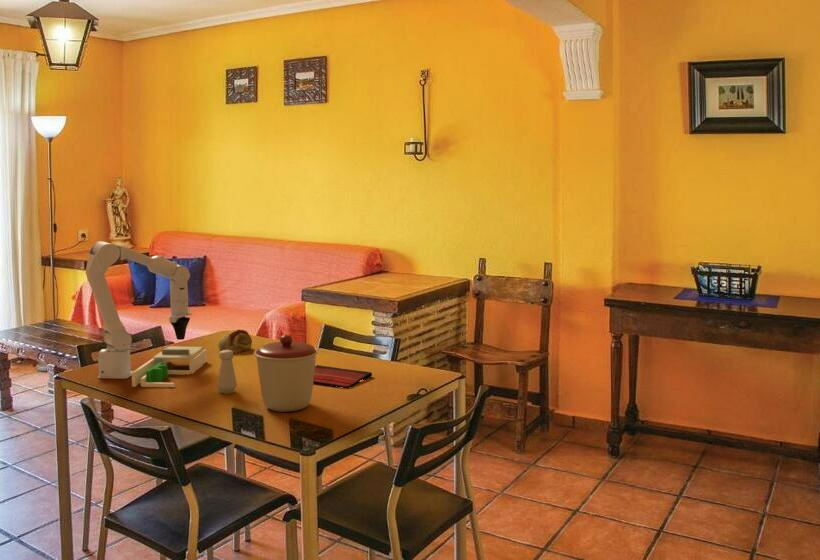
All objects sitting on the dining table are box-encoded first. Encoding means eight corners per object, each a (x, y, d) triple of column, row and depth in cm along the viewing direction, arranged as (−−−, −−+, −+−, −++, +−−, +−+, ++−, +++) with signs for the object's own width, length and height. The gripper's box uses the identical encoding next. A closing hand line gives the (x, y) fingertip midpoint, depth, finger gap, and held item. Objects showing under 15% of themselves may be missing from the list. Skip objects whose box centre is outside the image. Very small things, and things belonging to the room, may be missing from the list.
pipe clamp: (158, 385, 247) (157, 371, 246) (146, 385, 247) (145, 371, 246) (171, 375, 258) (170, 362, 257) (160, 375, 258) (159, 361, 257)
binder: (317, 364, 266) (372, 371, 257) (317, 370, 267) (372, 378, 258) (291, 377, 252) (348, 385, 243) (291, 384, 252) (348, 393, 244)
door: (153, 358, 259) (152, 352, 259) (169, 347, 274) (168, 342, 274) (188, 359, 259) (188, 353, 258) (203, 348, 274) (202, 342, 274)
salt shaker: (219, 396, 235) (218, 353, 233) (215, 391, 240) (214, 349, 238) (239, 393, 238) (238, 351, 236) (234, 388, 243) (233, 347, 241)
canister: (242, 412, 220) (241, 338, 217) (276, 394, 237) (274, 326, 234) (299, 420, 214) (298, 344, 211) (329, 401, 231) (329, 331, 228)
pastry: (242, 355, 286) (241, 333, 285) (211, 352, 289) (210, 331, 288) (259, 346, 300) (258, 325, 298) (229, 344, 303) (229, 324, 302)
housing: (132, 386, 244) (131, 372, 244) (167, 361, 275) (166, 348, 275) (176, 387, 244) (176, 373, 243) (206, 362, 275) (206, 349, 274)
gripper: (183, 304, 259) (184, 344, 261) (197, 296, 273) (199, 334, 275) (162, 303, 259) (164, 343, 261) (177, 296, 273) (179, 334, 275)
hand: (180, 339), depth 268 cm, fingers closed
